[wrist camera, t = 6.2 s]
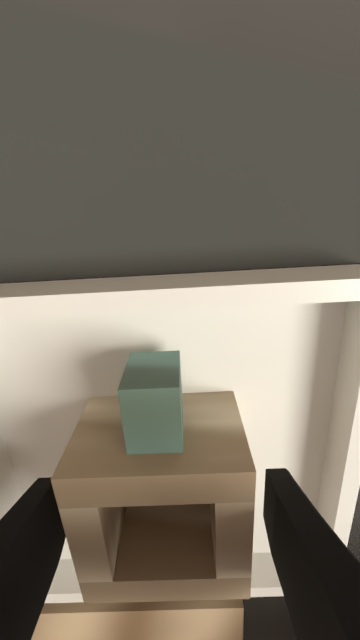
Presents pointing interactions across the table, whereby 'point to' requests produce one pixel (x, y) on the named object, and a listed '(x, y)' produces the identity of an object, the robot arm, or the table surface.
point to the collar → (158, 491)
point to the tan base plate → (142, 620)
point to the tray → (193, 376)
